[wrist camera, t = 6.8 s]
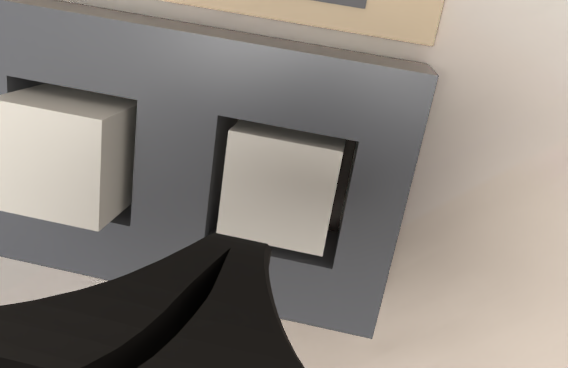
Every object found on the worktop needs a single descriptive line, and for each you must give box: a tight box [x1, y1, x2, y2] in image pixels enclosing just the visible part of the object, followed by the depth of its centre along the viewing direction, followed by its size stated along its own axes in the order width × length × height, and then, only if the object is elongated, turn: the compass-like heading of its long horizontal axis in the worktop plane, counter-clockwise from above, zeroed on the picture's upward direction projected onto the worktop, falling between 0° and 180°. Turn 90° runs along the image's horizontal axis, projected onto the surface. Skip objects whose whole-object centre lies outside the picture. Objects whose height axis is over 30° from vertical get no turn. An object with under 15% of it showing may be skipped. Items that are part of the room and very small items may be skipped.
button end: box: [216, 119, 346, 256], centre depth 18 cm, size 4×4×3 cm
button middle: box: [0, 83, 137, 232], centre depth 17 cm, size 4×4×3 cm
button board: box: [0, 0, 438, 339], centre depth 19 cm, size 9×22×3 cm, turn 82°
